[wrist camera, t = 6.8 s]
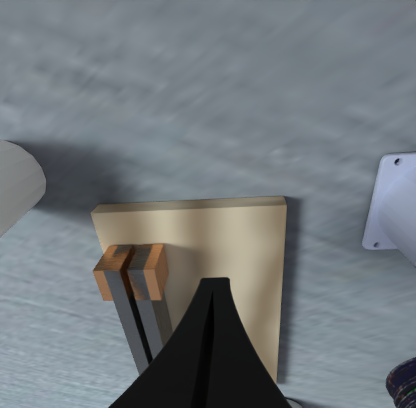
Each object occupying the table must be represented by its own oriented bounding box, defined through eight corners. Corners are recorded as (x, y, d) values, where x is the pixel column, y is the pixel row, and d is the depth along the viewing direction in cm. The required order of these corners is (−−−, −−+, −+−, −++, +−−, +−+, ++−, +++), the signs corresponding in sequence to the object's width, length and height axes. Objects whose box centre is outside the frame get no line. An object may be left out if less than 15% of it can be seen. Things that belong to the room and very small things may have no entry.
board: (283, 196, 21) (286, 205, 19) (273, 381, 32) (275, 394, 31) (98, 204, 22) (90, 213, 21) (152, 378, 34) (149, 391, 32)
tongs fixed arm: (156, 244, 21) (146, 269, 19) (188, 391, 31) (184, 422, 29) (109, 245, 22) (92, 271, 19) (154, 390, 32) (148, 420, 29)
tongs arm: (163, 244, 21) (154, 269, 19) (190, 379, 30) (186, 410, 27) (135, 245, 22) (122, 270, 19) (170, 379, 30) (165, 409, 28)
